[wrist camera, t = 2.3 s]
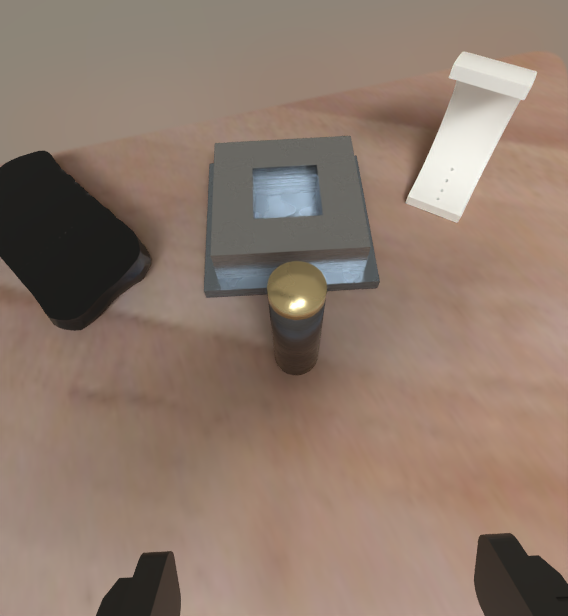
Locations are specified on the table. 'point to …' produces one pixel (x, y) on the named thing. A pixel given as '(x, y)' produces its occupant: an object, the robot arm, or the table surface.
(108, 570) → the table surface
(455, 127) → the headphone stand
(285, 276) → the brass pin
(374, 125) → the table surface
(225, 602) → the table surface
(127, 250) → the black sponge
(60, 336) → the table surface
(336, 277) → the square hole socket
